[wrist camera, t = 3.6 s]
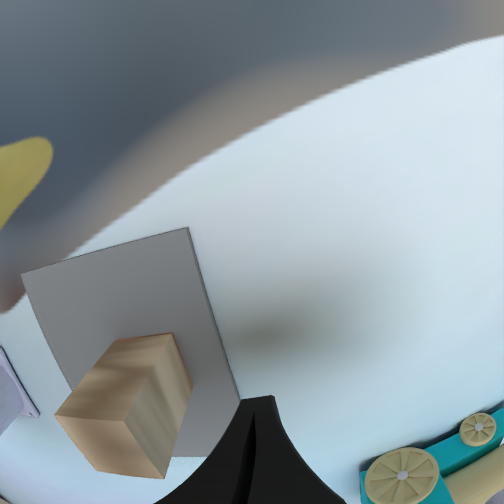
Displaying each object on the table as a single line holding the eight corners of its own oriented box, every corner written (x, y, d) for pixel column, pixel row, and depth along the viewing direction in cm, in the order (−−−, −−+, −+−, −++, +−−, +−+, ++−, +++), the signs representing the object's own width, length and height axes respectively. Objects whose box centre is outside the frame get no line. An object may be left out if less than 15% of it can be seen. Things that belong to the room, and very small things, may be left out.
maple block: (139, 389, 18) (96, 470, 10) (115, 339, 17) (53, 415, 9) (193, 385, 17) (164, 479, 10) (172, 332, 16) (123, 421, 9)
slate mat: (115, 449, 20) (113, 452, 20) (24, 272, 17) (20, 274, 16) (258, 448, 19) (258, 452, 19) (188, 227, 16) (185, 228, 15)
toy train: (490, 438, 20) (543, 521, 5) (359, 495, 22) (383, 607, 7) (507, 391, 18) (581, 482, 4) (357, 460, 20) (393, 603, 5)
